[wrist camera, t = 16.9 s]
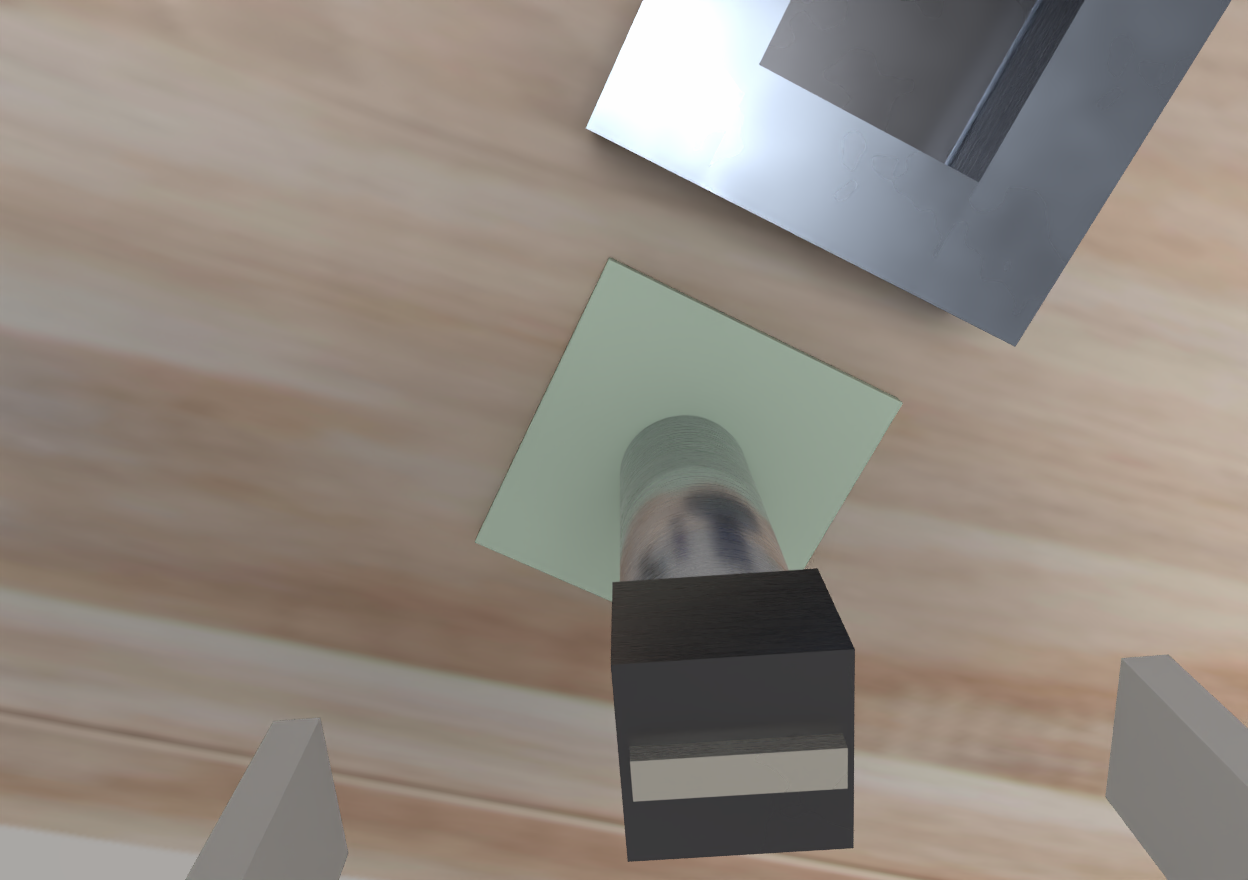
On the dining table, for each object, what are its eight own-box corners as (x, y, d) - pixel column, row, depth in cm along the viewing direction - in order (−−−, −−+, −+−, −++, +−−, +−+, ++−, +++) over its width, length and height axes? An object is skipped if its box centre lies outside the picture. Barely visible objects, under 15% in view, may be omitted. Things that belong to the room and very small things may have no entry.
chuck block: (591, 130, 27) (585, 127, 22) (795, -322, 23) (841, -443, 18) (948, 312, 28) (1015, 346, 23) (1185, -87, 25) (1319, -142, 20)
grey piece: (615, 419, 29) (610, 678, 15) (745, 410, 28) (860, 662, 15) (624, 538, 30) (628, 878, 16) (749, 530, 30) (858, 864, 16)
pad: (477, 534, 30) (475, 542, 30) (609, 256, 28) (609, 259, 27) (746, 651, 32) (748, 661, 31) (897, 397, 29) (902, 403, 28)
